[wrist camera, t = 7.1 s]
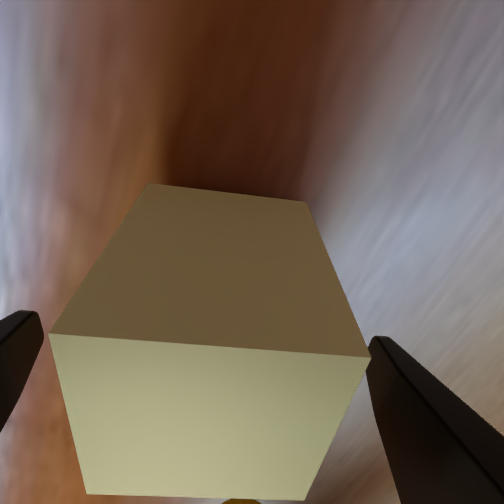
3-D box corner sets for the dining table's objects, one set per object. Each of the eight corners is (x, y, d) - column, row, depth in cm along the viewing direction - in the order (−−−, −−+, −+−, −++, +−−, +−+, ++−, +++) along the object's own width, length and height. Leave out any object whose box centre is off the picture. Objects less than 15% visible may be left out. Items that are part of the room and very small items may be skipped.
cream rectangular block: (278, 317, 14) (304, 500, 8) (150, 306, 13) (86, 494, 8) (306, 201, 11) (371, 357, 6) (148, 182, 11) (47, 333, 5)
